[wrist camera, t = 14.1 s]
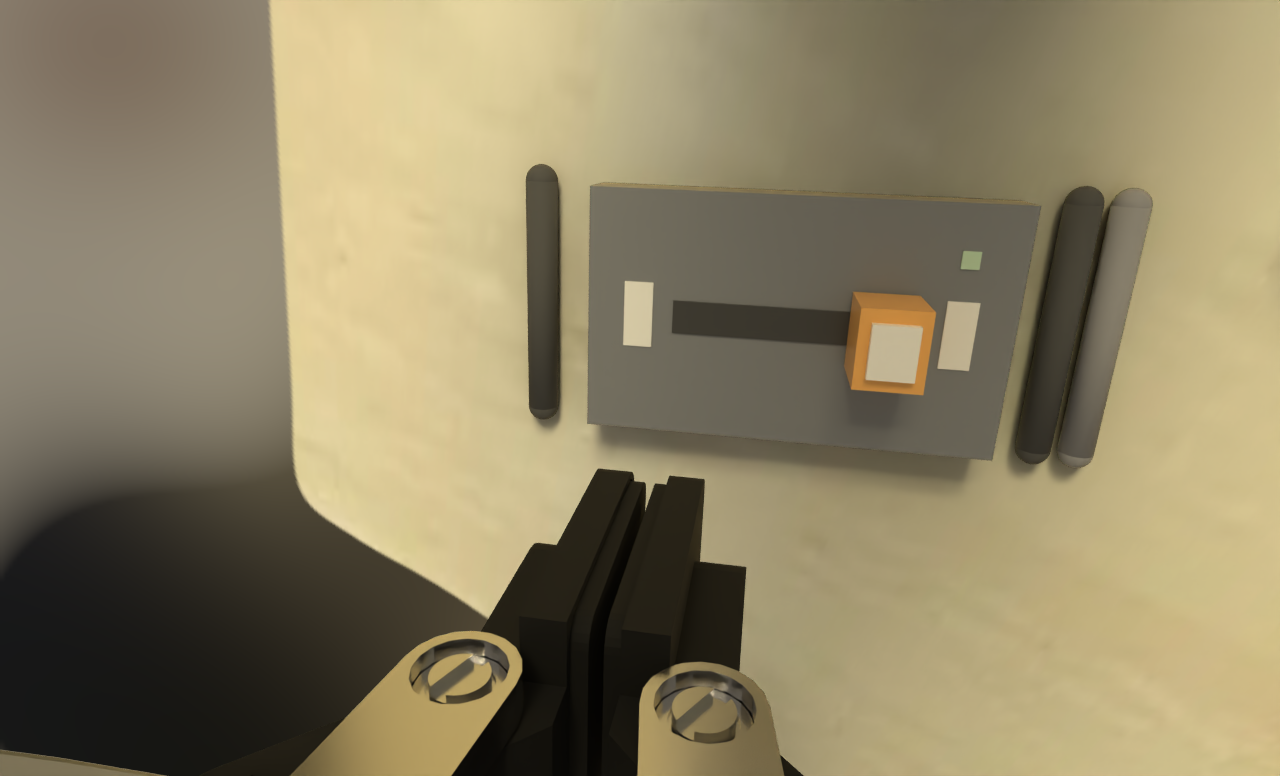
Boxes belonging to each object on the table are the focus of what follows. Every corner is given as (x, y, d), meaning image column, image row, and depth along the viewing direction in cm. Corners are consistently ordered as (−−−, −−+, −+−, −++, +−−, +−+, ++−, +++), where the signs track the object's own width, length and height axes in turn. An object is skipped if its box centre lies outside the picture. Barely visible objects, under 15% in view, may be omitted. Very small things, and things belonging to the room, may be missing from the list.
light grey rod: (1109, 186, 35) (1123, 188, 34) (1146, 188, 35) (1163, 190, 33) (1049, 458, 39) (1060, 471, 38) (1082, 461, 39) (1095, 474, 38)
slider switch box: (603, 182, 39) (589, 185, 36) (1020, 200, 36) (1042, 206, 33) (599, 404, 43) (587, 424, 40) (976, 437, 40) (992, 461, 37)
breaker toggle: (853, 291, 35) (862, 309, 31) (920, 295, 35) (938, 314, 31) (844, 366, 36) (852, 392, 33) (909, 371, 36) (924, 398, 32)
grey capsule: (1062, 184, 35) (1075, 186, 34) (1099, 185, 35) (1114, 188, 34) (1008, 455, 40) (1017, 467, 38) (1041, 458, 39) (1051, 470, 38)
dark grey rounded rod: (531, 163, 39) (521, 164, 38) (561, 164, 39) (552, 165, 37) (534, 412, 43) (525, 422, 42) (561, 414, 43) (553, 424, 42)
